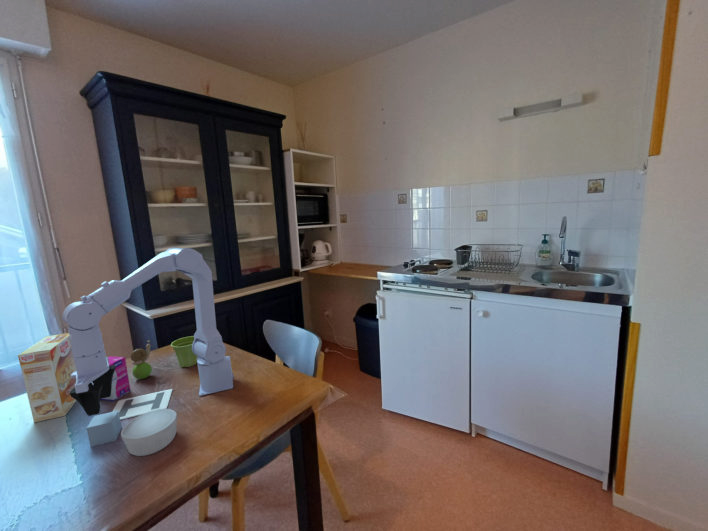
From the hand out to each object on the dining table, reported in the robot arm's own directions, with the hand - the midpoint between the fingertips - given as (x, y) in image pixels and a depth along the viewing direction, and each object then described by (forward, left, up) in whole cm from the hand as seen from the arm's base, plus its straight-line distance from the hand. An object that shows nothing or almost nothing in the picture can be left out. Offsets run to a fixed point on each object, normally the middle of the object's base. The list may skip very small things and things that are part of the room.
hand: (100, 405), depth 77 cm
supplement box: (+4, -22, -9) cm, 24 cm away
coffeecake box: (+18, -23, -9) cm, 31 cm away
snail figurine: (-2, -31, -9) cm, 32 cm away
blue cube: (0, 0, -9) cm, 9 cm away
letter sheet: (-5, -12, -8) cm, 16 cm away
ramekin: (-11, +7, -9) cm, 16 cm away
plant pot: (-15, -35, -9) cm, 39 cm away
